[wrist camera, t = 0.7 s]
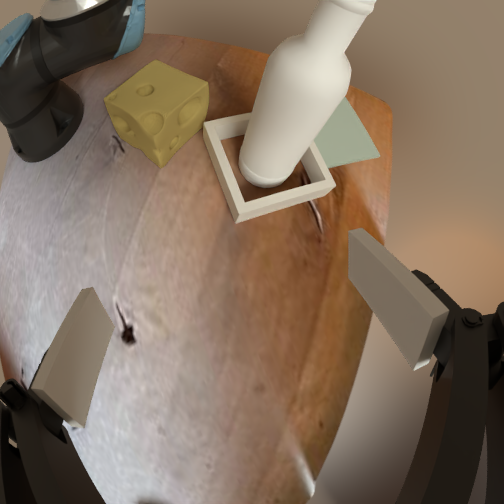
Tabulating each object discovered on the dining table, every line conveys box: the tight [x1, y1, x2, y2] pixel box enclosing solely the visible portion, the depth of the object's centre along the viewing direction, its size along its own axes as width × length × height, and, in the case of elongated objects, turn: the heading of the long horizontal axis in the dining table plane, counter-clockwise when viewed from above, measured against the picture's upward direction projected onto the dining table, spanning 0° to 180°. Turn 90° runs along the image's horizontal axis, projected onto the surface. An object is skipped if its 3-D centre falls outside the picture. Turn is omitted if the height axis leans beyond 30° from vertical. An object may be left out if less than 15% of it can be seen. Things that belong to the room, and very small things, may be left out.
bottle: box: [238, 0, 376, 188], centre depth 24 cm, size 8×8×30 cm
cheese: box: [104, 60, 209, 168], centre depth 32 cm, size 10×11×10 cm
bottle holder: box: [203, 112, 336, 224], centre depth 37 cm, size 14×14×4 cm
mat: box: [314, 97, 380, 168], centre depth 42 cm, size 14×14×1 cm
